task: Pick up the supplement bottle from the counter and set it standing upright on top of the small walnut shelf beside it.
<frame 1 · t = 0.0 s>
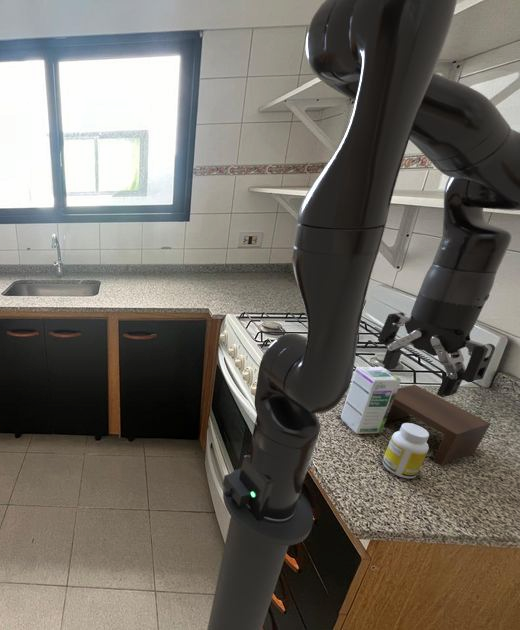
hand: (414, 381, 60), 21 cm above the counter, tool pointing down, fingers open, 8 cm apart
supplement bottle: (398, 469, 69), on the counter
shelf: (420, 435, 77), on the counter
syrup box: (359, 426, 80), on the counter
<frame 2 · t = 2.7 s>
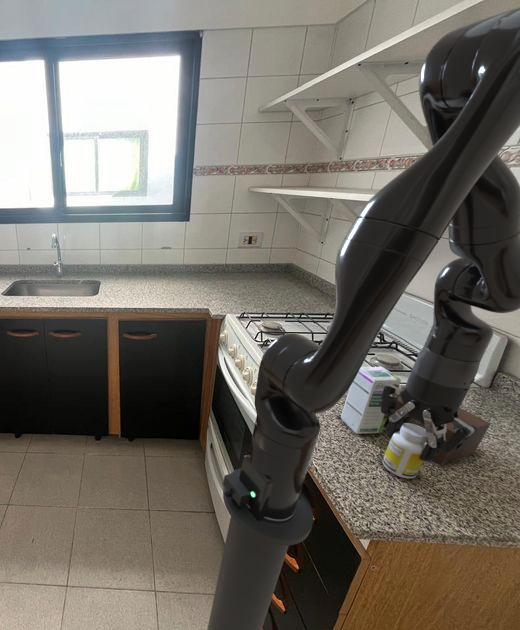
hand: (408, 447, 67), 5 cm above the counter, tool pointing down, fingers closed on supplement bottle, 5 cm apart
supplement bottle: (398, 469, 69), on the counter, touching gripper
everything else where it was.
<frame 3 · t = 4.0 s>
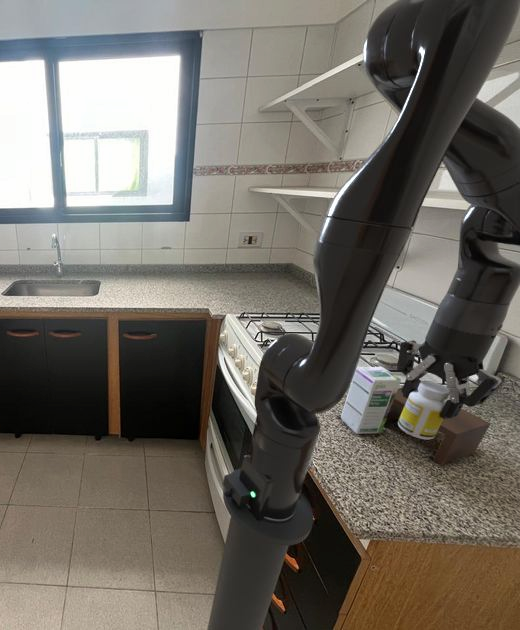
hand: (426, 406, 63), 15 cm above the counter, tool pointing down, fingers closed on supplement bottle, 5 cm apart
supplement bottle: (414, 431, 65), point 10 cm above the counter, touching gripper
everything else where it was.
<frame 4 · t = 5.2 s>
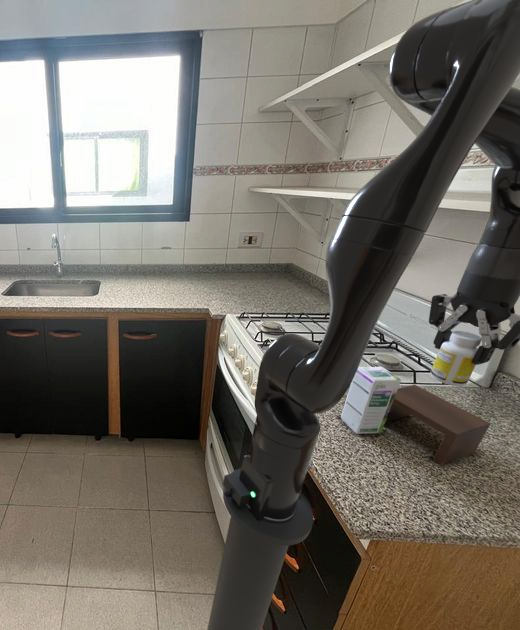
hand: (458, 355, 66), 22 cm above the counter, tool pointing down, fingers closed on supplement bottle, 5 cm apart
supplement bottle: (446, 379, 69), point 16 cm above the counter, touching gripper
everything else where it was.
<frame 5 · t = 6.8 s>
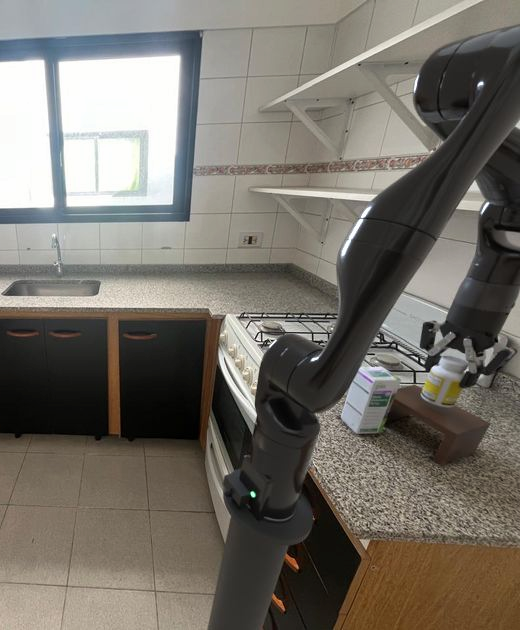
hand: (446, 378, 71), 15 cm above the counter, tool pointing down, fingers closed on supplement bottle, 5 cm apart
supplement bottle: (436, 401, 73), point 10 cm above the counter, touching gripper
everything else where it was.
when the fingers open (14 cm above the counter, at t = 7.9 s): supplement bottle stays where it is, resting on shelf.
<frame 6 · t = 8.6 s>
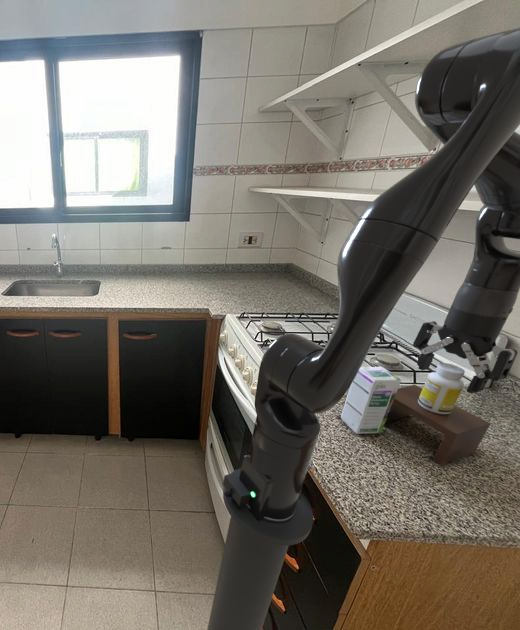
hand: (446, 380, 71), 15 cm above the counter, tool pointing down, fingers open, 8 cm apart
supplement bottle: (433, 407, 74), point 8 cm above the counter, touching shelf
everything else where it was.
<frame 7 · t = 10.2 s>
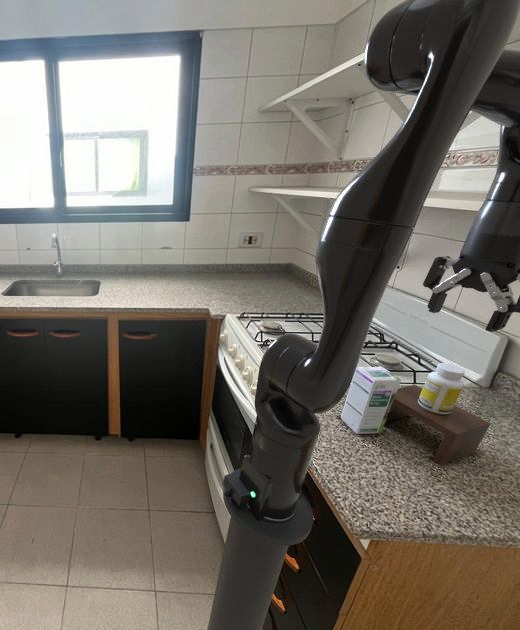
hand: (461, 320, 62), 30 cm above the counter, tool pointing down, fingers open, 8 cm apart
nothing on the counter moved.
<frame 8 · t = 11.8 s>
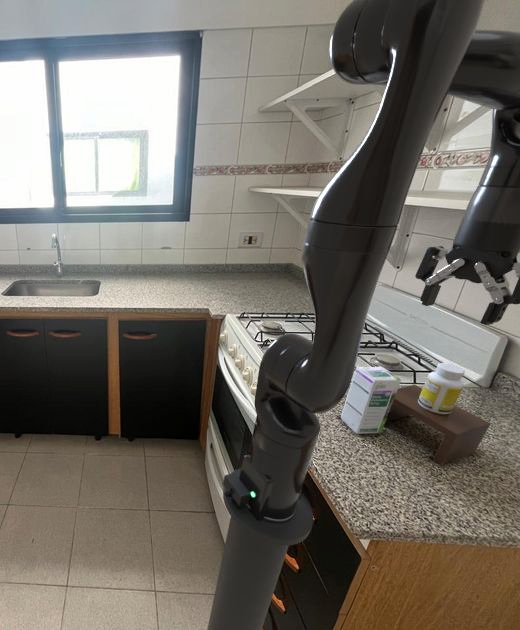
hand: (455, 313, 59), 32 cm above the counter, tool pointing down, fingers open, 8 cm apart
nothing on the counter moved.
at the end: supplement bottle inside the target area on the shelf (0.1 cm from its centre), point 7.8 cm above the shelf's base; supplement bottle tilted 0°; the gripper is holding nothing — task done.
